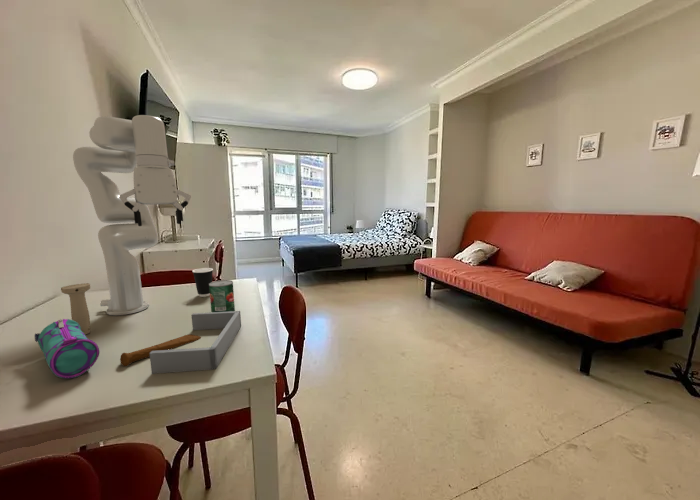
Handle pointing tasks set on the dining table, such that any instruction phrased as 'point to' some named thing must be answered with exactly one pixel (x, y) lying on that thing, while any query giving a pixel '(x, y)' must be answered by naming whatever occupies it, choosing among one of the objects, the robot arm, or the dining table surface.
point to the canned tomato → (222, 296)
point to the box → (199, 356)
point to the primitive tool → (144, 353)
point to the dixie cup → (203, 280)
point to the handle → (79, 305)
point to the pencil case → (67, 348)
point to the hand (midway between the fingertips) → (160, 224)
